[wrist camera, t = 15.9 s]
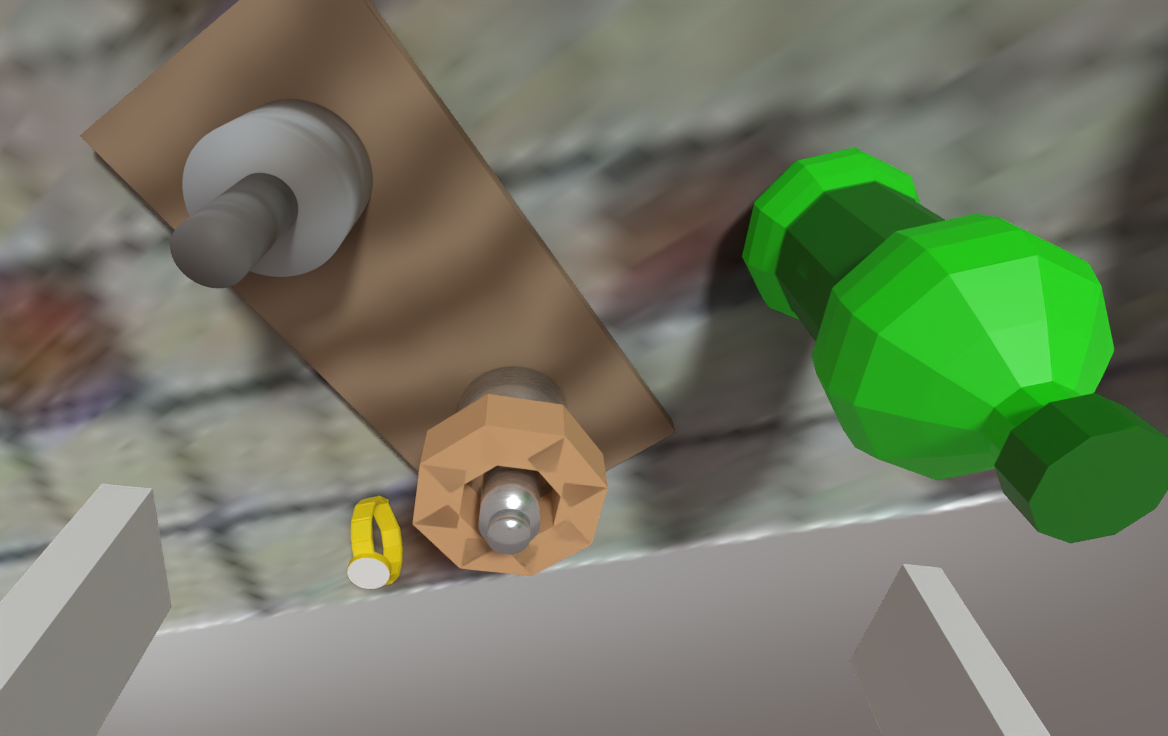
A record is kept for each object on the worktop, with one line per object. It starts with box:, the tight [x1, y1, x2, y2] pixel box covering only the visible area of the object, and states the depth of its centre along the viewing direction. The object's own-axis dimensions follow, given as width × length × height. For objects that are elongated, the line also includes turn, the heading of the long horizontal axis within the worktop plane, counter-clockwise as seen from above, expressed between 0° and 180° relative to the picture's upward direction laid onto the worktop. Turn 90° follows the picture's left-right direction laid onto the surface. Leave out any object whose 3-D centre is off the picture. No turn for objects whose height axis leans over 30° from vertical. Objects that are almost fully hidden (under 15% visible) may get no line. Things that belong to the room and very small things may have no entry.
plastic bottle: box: [742, 148, 1168, 543], centre depth 31 cm, size 10×10×25 cm
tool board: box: [80, 0, 675, 472], centre depth 37 cm, size 34×16×14 cm, turn 33°
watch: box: [347, 496, 403, 589], centre depth 49 cm, size 6×3×6 cm, turn 11°
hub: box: [458, 366, 569, 554], centre depth 41 cm, size 7×7×12 cm
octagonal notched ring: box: [413, 394, 608, 576], centre depth 39 cm, size 10×10×3 cm
